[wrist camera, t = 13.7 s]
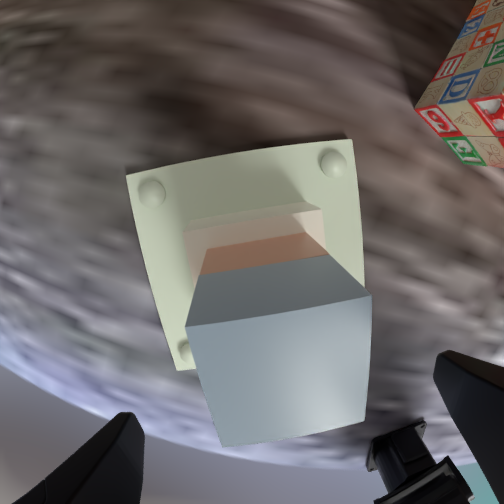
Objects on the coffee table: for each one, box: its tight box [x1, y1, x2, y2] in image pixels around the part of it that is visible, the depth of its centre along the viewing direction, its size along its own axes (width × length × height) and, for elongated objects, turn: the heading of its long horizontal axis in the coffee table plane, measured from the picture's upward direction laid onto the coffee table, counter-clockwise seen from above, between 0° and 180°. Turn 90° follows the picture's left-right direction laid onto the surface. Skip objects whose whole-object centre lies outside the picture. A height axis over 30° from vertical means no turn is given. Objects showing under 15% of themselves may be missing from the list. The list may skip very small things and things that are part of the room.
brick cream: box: [182, 201, 326, 288], centre depth 18 cm, size 7×7×4 cm
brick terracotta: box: [200, 232, 329, 275], centre depth 14 cm, size 5×5×4 cm
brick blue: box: [185, 254, 372, 447], centre depth 10 cm, size 5×5×4 cm
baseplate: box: [126, 139, 364, 371], centre depth 20 cm, size 14×14×1 cm
